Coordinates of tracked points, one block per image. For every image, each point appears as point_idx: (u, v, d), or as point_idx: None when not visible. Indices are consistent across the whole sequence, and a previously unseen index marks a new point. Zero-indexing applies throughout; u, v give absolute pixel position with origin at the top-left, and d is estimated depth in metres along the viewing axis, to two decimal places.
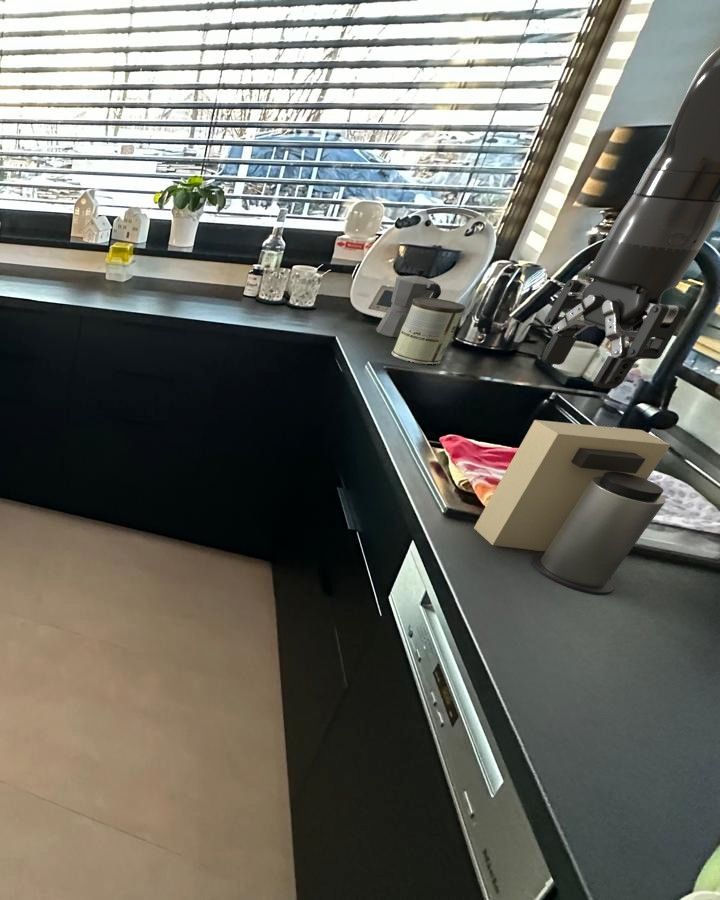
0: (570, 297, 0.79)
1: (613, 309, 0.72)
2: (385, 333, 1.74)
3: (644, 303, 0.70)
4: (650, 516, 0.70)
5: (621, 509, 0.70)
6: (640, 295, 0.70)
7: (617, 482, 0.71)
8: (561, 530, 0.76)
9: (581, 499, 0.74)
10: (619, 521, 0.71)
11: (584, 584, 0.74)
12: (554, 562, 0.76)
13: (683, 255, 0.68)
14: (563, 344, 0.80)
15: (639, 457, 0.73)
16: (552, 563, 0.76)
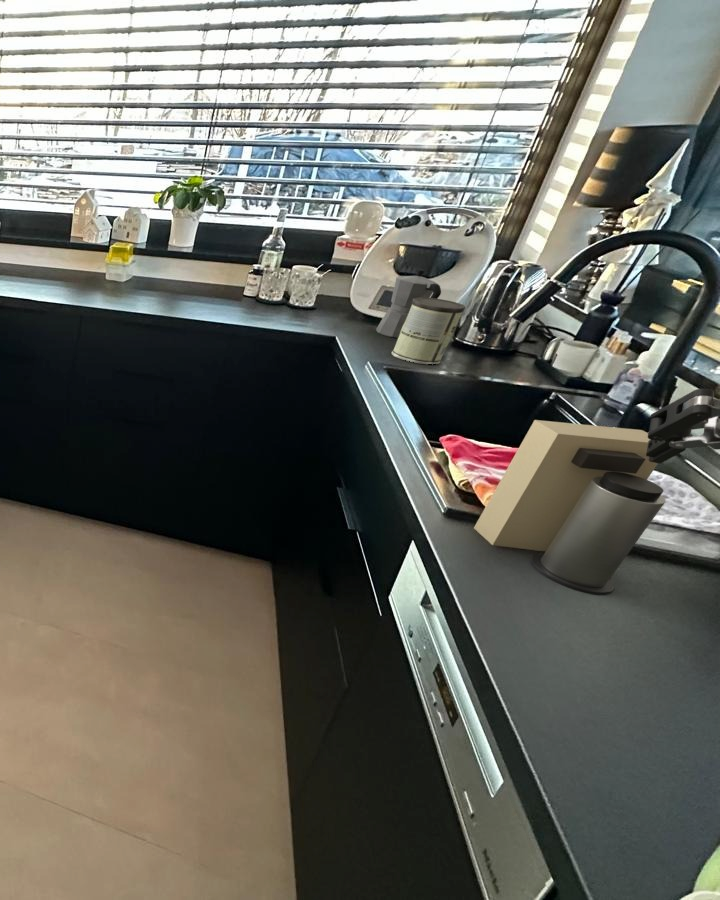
0: None
1: None
2: (385, 333, 1.74)
3: None
4: (650, 516, 0.70)
5: (621, 509, 0.70)
6: None
7: (617, 482, 0.71)
8: (561, 530, 0.76)
9: (581, 499, 0.74)
10: (619, 521, 0.71)
11: (584, 584, 0.74)
12: (554, 562, 0.76)
13: None
14: None
15: (639, 457, 0.73)
16: (552, 563, 0.76)
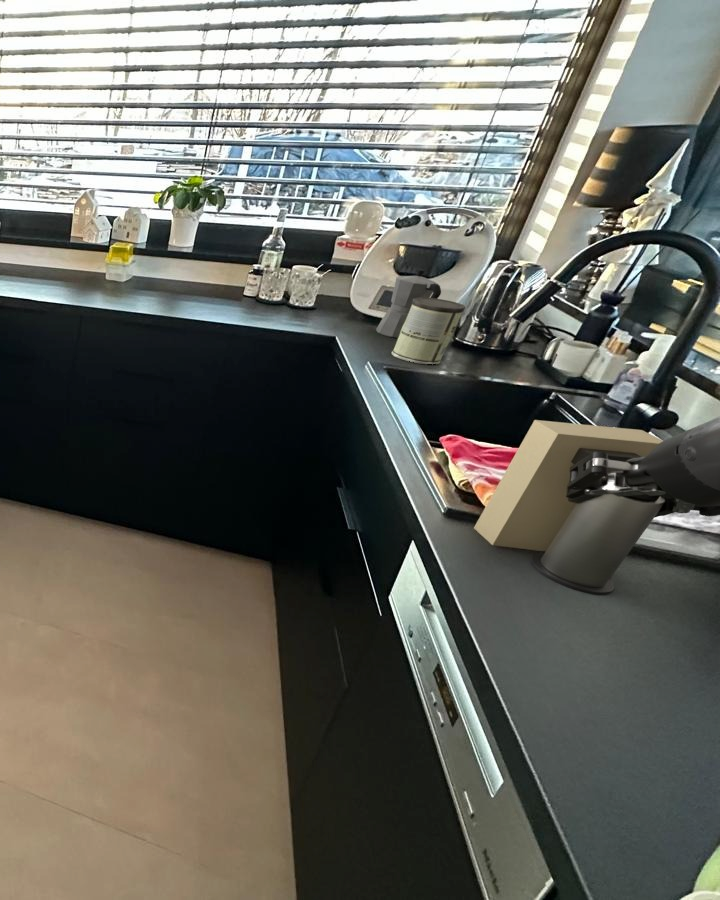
0: None
1: None
2: (385, 333, 1.74)
3: None
4: (650, 516, 0.70)
5: (621, 509, 0.70)
6: None
7: None
8: (561, 530, 0.76)
9: None
10: (619, 521, 0.71)
11: (584, 583, 0.74)
12: (554, 562, 0.76)
13: None
14: None
15: None
16: (552, 563, 0.76)
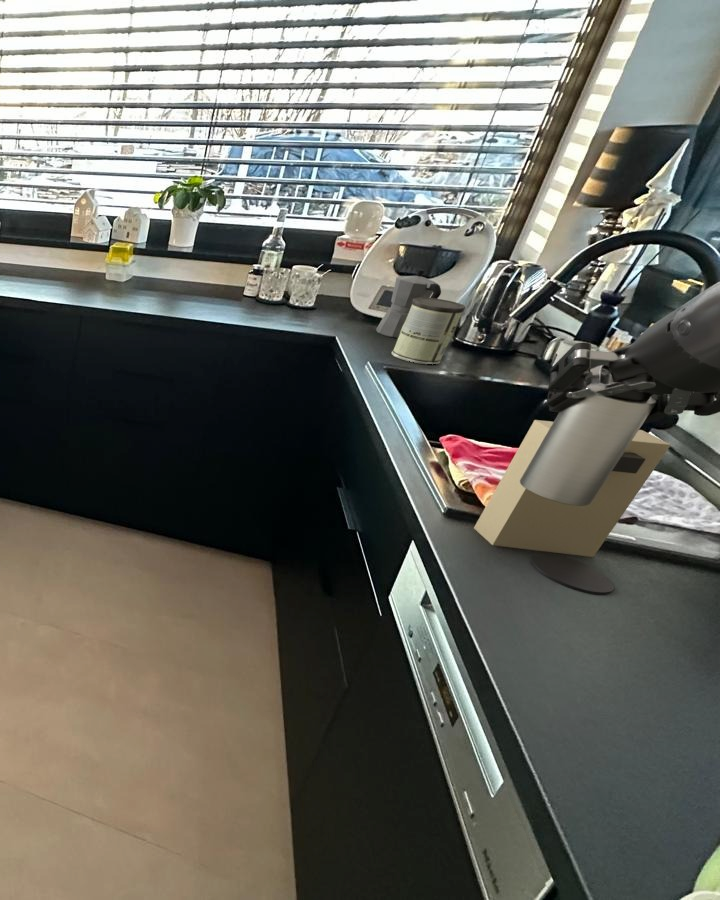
0: None
1: None
2: (385, 333, 1.74)
3: None
4: (640, 419, 0.62)
5: (607, 412, 0.63)
6: None
7: None
8: (542, 444, 0.69)
9: None
10: (605, 426, 0.63)
11: (567, 501, 0.67)
12: (534, 480, 0.69)
13: None
14: None
15: (639, 457, 0.73)
16: (532, 481, 0.69)
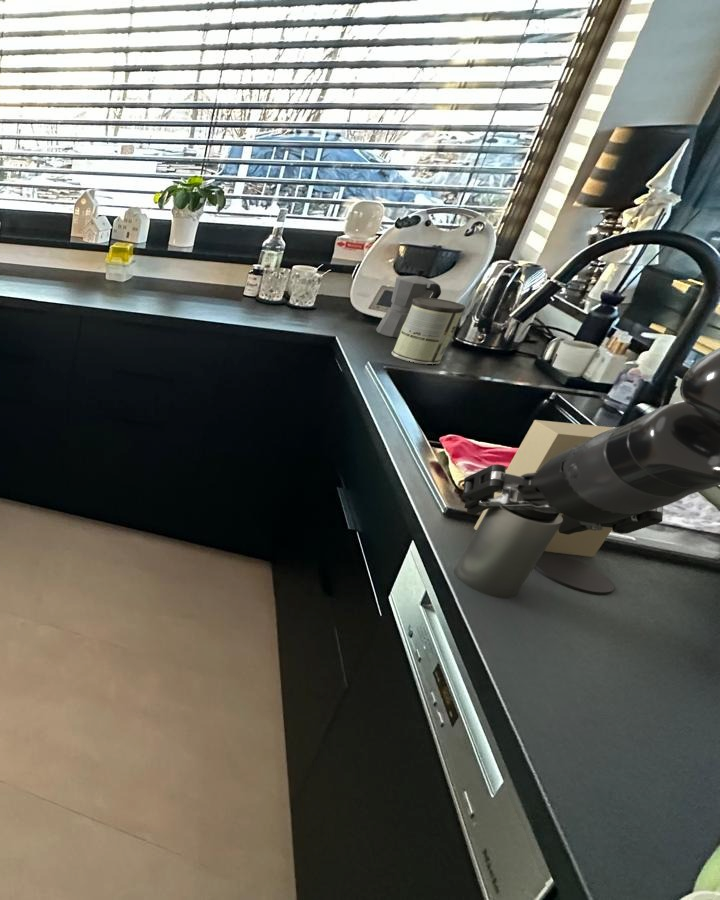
0: None
1: None
2: (385, 333, 1.74)
3: None
4: (548, 536, 0.68)
5: (519, 529, 0.69)
6: None
7: None
8: (466, 549, 0.75)
9: (484, 518, 0.73)
10: (517, 541, 0.69)
11: None
12: None
13: None
14: None
15: None
16: None
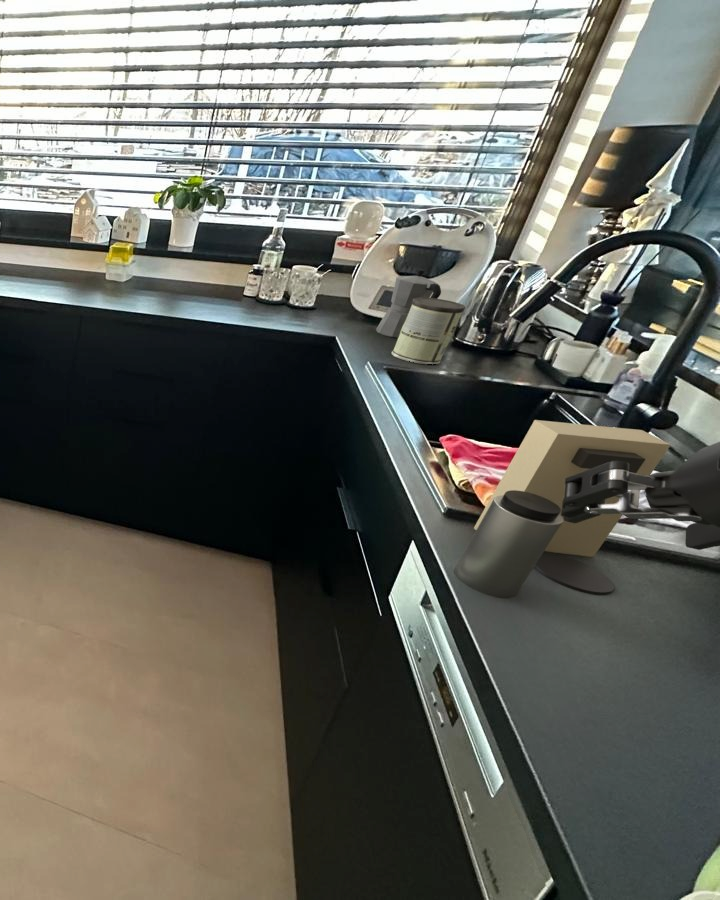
0: None
1: None
2: (385, 333, 1.74)
3: None
4: (548, 536, 0.68)
5: (519, 529, 0.69)
6: None
7: (516, 501, 0.70)
8: (466, 549, 0.75)
9: (484, 518, 0.73)
10: (517, 541, 0.69)
11: None
12: None
13: None
14: None
15: (639, 457, 0.73)
16: None
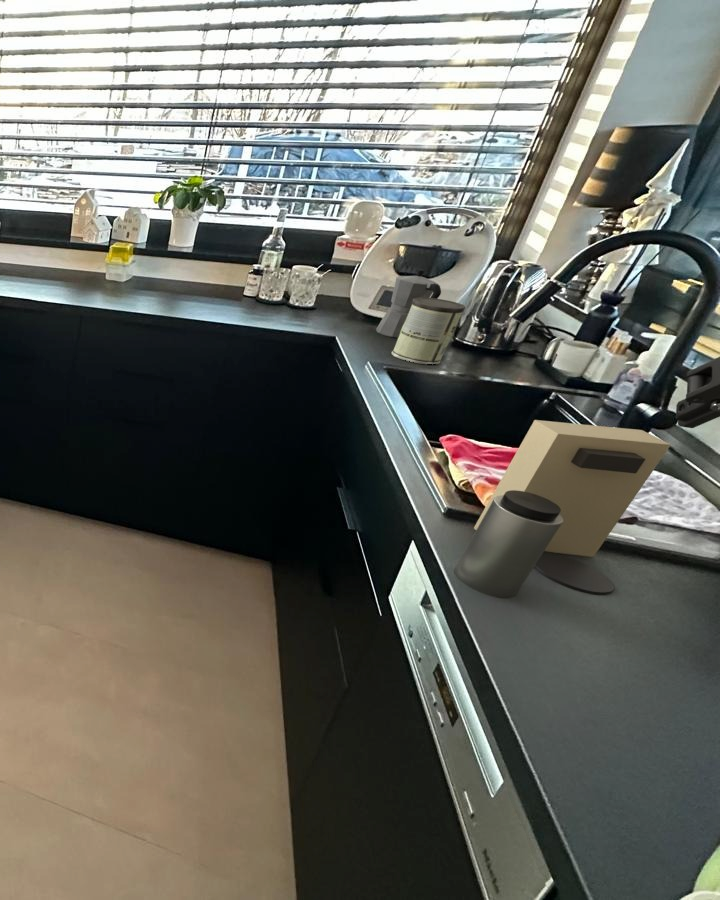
0: None
1: None
2: (385, 333, 1.74)
3: None
4: (548, 536, 0.68)
5: (519, 529, 0.69)
6: None
7: (516, 501, 0.70)
8: (466, 549, 0.75)
9: (484, 518, 0.73)
10: (517, 541, 0.69)
11: None
12: None
13: None
14: None
15: (639, 457, 0.73)
16: None
